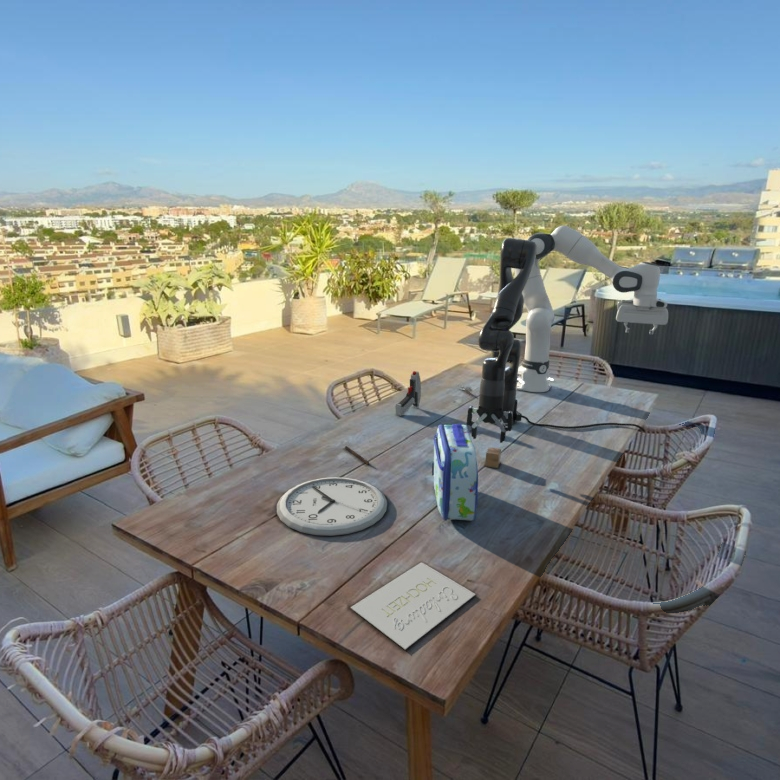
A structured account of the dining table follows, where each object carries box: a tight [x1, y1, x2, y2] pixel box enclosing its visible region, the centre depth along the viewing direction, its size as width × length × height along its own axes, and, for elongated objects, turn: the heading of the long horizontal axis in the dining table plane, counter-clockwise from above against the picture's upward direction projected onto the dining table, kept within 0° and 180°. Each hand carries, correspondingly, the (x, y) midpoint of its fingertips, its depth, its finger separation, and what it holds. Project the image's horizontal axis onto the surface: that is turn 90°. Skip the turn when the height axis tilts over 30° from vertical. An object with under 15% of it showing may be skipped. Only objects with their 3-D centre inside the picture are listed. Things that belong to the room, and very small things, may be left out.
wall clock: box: [276, 476, 388, 537], centre depth 142 cm, size 30×2×30 cm
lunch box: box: [431, 423, 479, 522], centre depth 142 cm, size 26×11×21 cm, turn 179°
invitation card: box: [350, 562, 476, 651], centre depth 106 cm, size 21×1×15 cm
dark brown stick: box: [344, 445, 370, 465], centre depth 173 cm, size 15×1×1 cm, turn 34°
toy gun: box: [395, 370, 422, 417], centre depth 214 cm, size 2×16×15 cm
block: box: [484, 446, 502, 469], centre depth 169 cm, size 5×4×5 cm
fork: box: [457, 383, 474, 397], centre depth 243 cm, size 3×16×2 cm, turn 15°
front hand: (488, 440), depth 168 cm, fingers open, 8 cm apart
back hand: (639, 333), depth 227 cm, fingers open, 8 cm apart
